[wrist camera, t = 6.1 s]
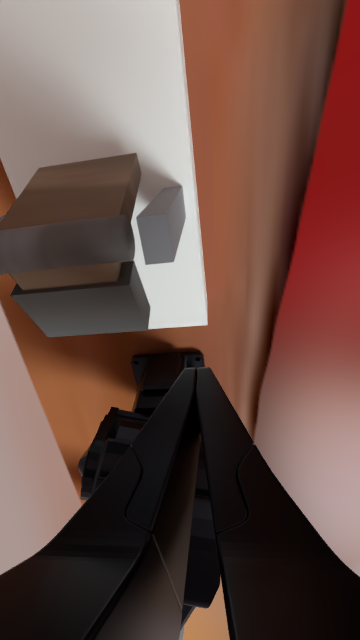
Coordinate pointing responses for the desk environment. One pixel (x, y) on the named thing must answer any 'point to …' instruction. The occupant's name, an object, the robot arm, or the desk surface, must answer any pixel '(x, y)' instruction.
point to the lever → (77, 248)
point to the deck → (110, 124)
